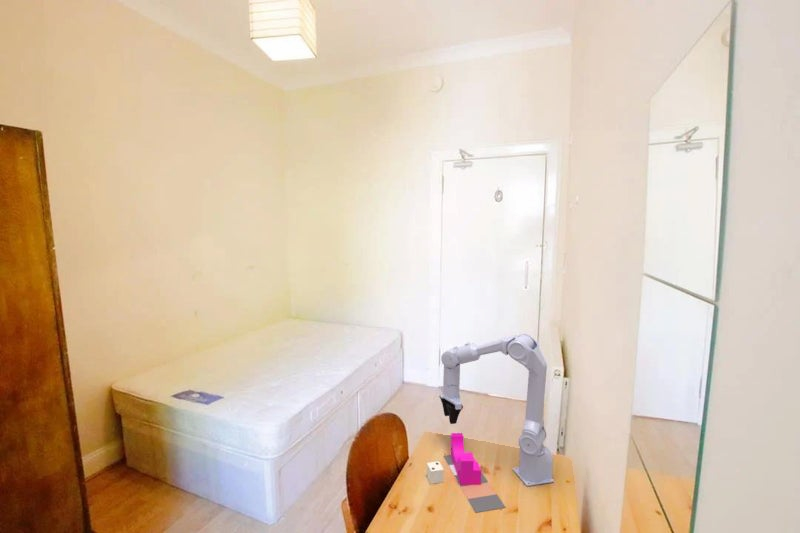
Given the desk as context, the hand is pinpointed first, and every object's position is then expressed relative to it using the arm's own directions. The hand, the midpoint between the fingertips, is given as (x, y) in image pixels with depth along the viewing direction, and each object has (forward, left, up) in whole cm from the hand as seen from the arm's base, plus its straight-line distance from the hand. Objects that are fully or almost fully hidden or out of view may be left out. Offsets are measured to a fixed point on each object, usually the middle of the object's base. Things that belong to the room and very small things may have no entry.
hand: (450, 419), depth 123 cm
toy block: (0, +14, -10) cm, 17 cm away
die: (+11, +16, -9) cm, 22 cm away
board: (0, +19, -9) cm, 21 cm away
